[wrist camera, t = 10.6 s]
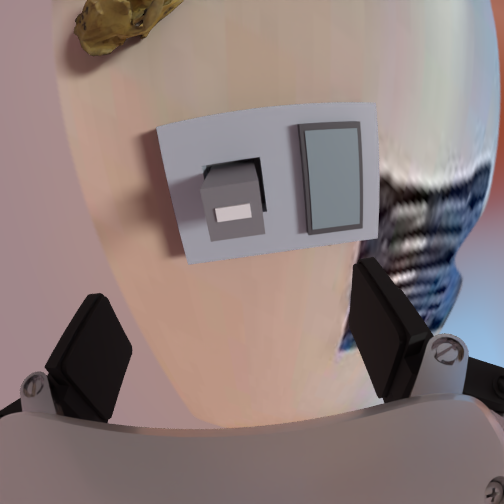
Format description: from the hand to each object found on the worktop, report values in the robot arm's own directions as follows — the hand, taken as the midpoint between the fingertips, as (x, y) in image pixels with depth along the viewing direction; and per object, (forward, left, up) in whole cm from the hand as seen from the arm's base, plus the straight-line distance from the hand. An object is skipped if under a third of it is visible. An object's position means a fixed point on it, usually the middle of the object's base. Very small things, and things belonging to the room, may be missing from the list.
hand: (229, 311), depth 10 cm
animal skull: (+5, -21, -20) cm, 30 cm away
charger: (0, 0, -20) cm, 20 cm away
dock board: (-4, 0, -20) cm, 20 cm away
